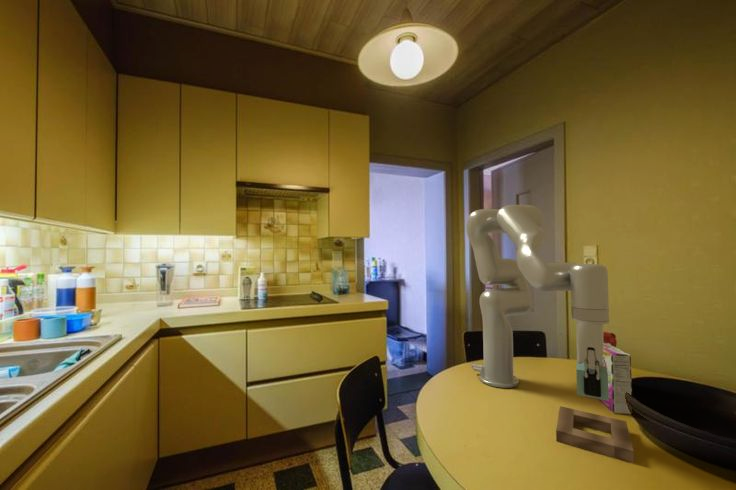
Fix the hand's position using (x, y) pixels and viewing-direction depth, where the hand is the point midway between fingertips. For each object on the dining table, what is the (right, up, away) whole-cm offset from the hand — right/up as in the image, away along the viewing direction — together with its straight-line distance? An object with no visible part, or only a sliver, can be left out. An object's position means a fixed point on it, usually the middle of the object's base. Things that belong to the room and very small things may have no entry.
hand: (592, 389), depth 76 cm
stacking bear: (+24, -12, +28) cm, 39 cm away
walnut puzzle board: (0, -11, 0) cm, 11 cm away
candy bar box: (+17, -12, +15) cm, 25 cm away
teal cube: (0, -1, 0) cm, 1 cm away
